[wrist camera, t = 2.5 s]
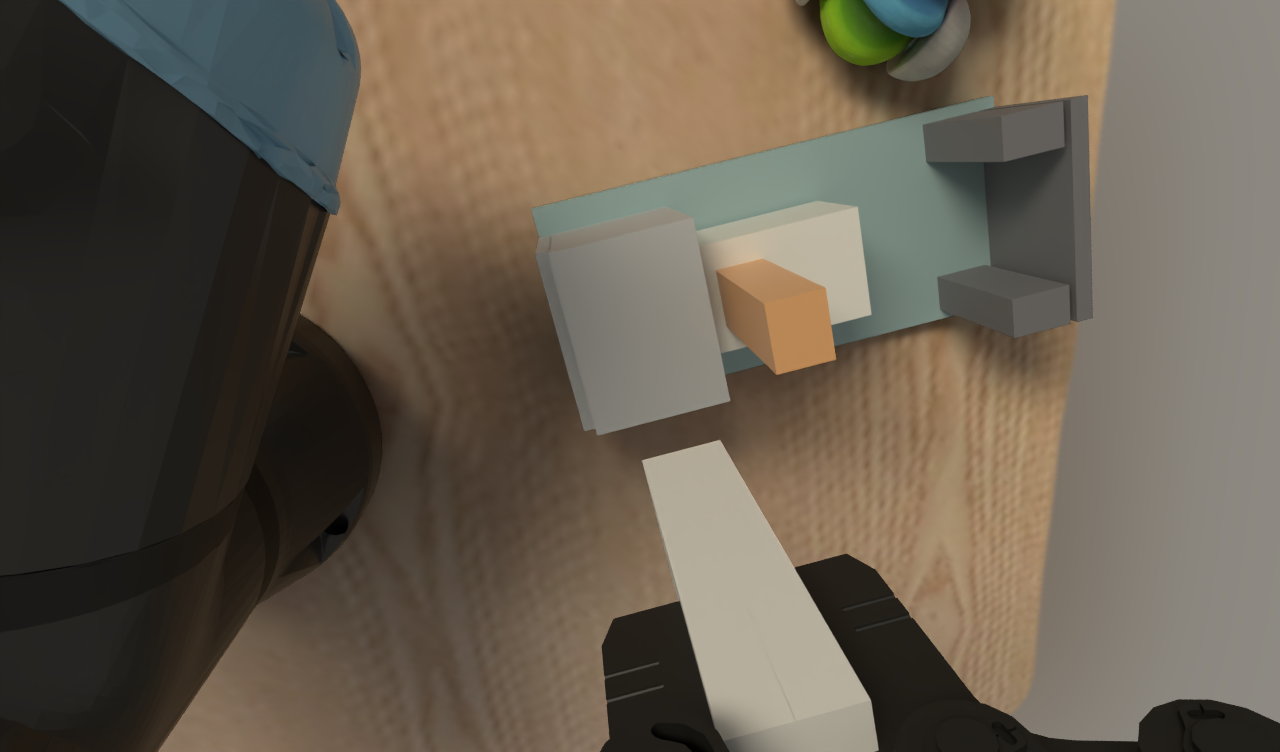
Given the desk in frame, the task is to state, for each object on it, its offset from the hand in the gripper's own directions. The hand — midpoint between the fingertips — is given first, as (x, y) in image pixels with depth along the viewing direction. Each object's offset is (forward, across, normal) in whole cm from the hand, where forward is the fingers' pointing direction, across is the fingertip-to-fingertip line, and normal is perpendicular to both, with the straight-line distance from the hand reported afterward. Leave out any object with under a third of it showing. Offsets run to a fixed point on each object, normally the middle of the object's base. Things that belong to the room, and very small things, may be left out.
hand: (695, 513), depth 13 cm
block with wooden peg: (+21, +4, 0) cm, 21 cm away
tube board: (+22, +8, 0) cm, 23 cm away
